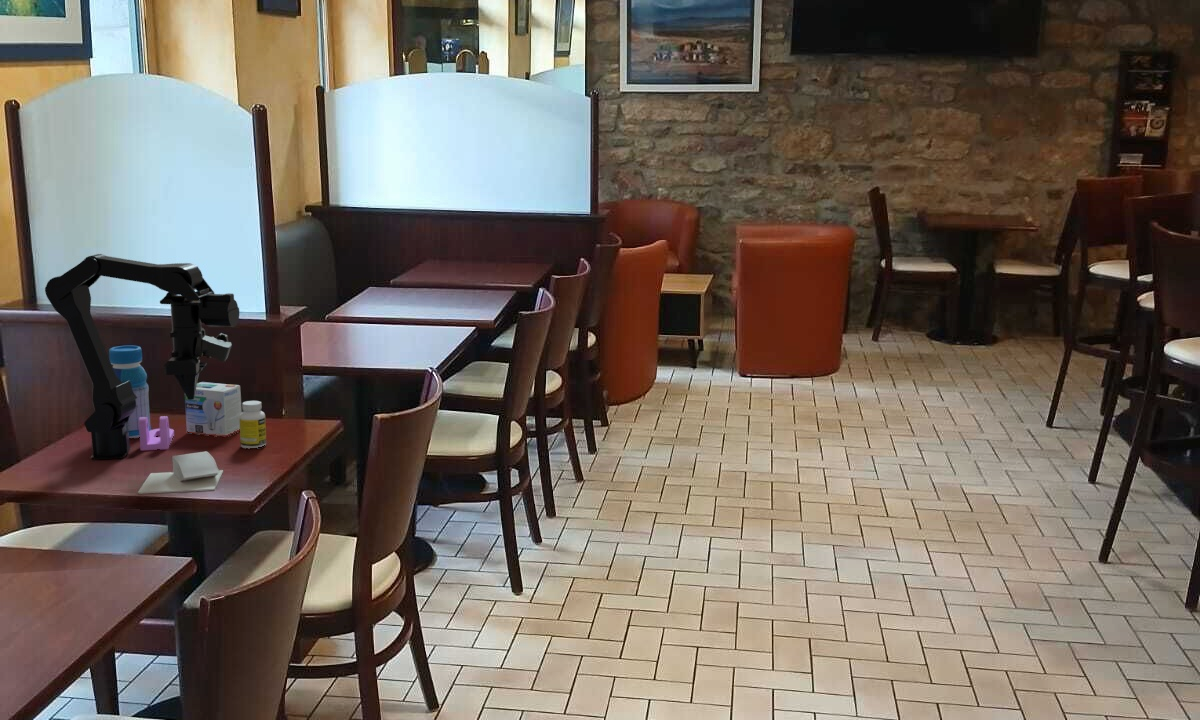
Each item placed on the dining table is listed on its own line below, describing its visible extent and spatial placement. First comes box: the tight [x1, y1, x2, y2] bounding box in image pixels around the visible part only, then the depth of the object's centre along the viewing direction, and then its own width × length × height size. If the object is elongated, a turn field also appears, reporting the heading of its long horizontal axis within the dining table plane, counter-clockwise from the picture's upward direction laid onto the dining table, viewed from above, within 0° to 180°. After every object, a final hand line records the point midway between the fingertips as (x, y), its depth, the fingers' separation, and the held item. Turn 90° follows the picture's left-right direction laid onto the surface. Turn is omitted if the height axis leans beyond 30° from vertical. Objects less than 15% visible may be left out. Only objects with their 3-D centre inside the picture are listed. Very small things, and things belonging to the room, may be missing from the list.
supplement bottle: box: [239, 400, 267, 450], centre depth 250 cm, size 5×5×10 cm
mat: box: [137, 469, 224, 495], centre depth 226 cm, size 14×12×1 cm
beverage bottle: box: [108, 345, 152, 439], centre depth 257 cm, size 8×8×20 cm
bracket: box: [139, 415, 175, 451], centre depth 253 cm, size 13×6×7 cm, turn 13°
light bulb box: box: [184, 381, 243, 435], centre depth 261 cm, size 11×7×11 cm, turn 73°
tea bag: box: [171, 450, 220, 482], centre depth 228 cm, size 4×7×10 cm
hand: (191, 399), depth 239 cm, fingers closed
